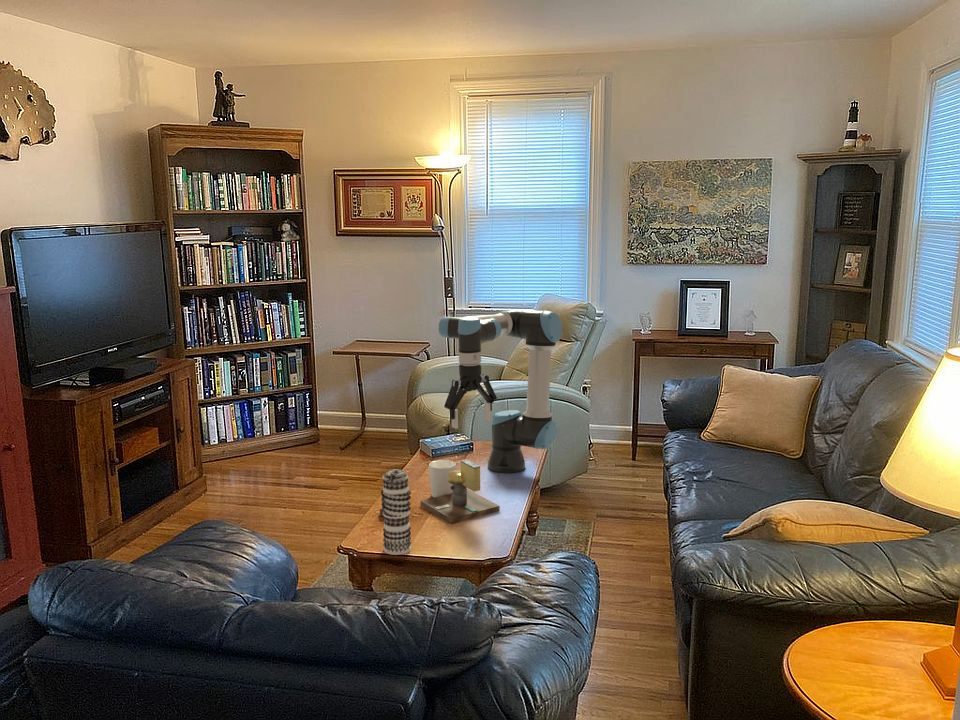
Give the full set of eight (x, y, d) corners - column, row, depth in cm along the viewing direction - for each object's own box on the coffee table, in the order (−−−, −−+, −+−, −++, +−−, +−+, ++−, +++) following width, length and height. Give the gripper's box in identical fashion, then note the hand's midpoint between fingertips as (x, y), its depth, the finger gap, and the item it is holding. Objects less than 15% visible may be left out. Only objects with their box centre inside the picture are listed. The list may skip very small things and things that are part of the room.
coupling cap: (443, 479, 277) (443, 456, 275) (463, 475, 281) (463, 452, 279) (466, 493, 263) (466, 469, 262) (487, 488, 268) (487, 465, 266)
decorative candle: (387, 557, 239) (385, 478, 234) (378, 545, 247) (376, 469, 243) (416, 552, 243) (414, 474, 238) (406, 540, 251) (404, 465, 246)
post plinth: (467, 494, 291) (467, 468, 289) (499, 511, 275) (499, 483, 273) (420, 506, 280) (420, 479, 278) (450, 524, 264) (450, 495, 262)
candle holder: (453, 500, 285) (452, 469, 283) (426, 499, 287) (426, 467, 284) (458, 491, 294) (458, 460, 292) (432, 490, 296) (432, 459, 294)
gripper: (445, 370, 257) (447, 433, 261) (506, 360, 271) (506, 420, 276) (432, 367, 263) (434, 428, 267) (493, 357, 277) (494, 415, 282)
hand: (471, 424), depth 271 cm, fingers open, 13 cm apart
